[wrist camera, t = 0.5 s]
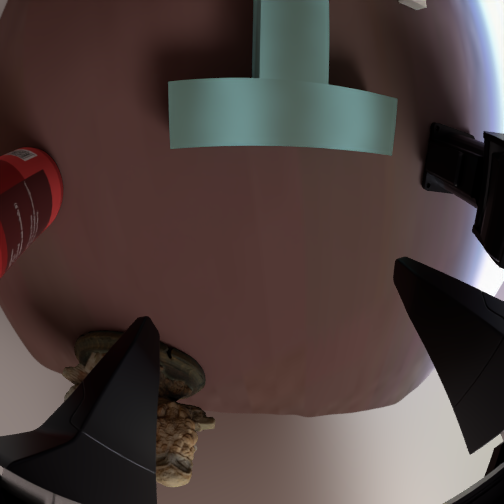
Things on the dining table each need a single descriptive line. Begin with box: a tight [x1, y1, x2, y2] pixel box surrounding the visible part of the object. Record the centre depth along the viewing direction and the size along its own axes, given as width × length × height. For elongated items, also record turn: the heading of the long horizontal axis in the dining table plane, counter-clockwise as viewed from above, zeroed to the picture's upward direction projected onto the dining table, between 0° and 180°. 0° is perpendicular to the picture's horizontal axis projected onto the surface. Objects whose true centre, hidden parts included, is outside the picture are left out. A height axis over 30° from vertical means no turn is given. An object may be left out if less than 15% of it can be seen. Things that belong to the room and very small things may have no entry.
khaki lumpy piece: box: [62, 331, 215, 487], centre depth 23 cm, size 18×12×17 cm, turn 70°
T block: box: [168, 0, 398, 156], centre depth 14 cm, size 14×12×4 cm
